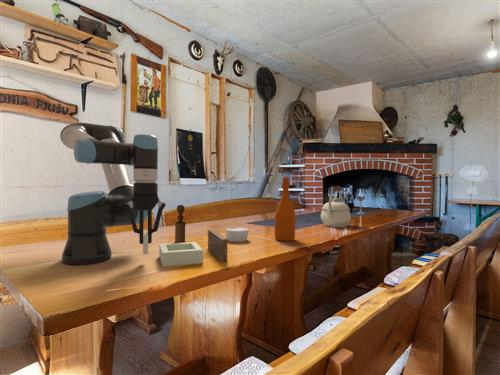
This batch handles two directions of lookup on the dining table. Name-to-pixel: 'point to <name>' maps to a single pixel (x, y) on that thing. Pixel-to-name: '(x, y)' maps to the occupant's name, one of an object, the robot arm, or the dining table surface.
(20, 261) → the dining table surface
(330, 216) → the kettle
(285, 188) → the wine bottle
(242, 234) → the ramekin
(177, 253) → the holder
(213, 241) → the backstop wall
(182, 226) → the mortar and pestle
